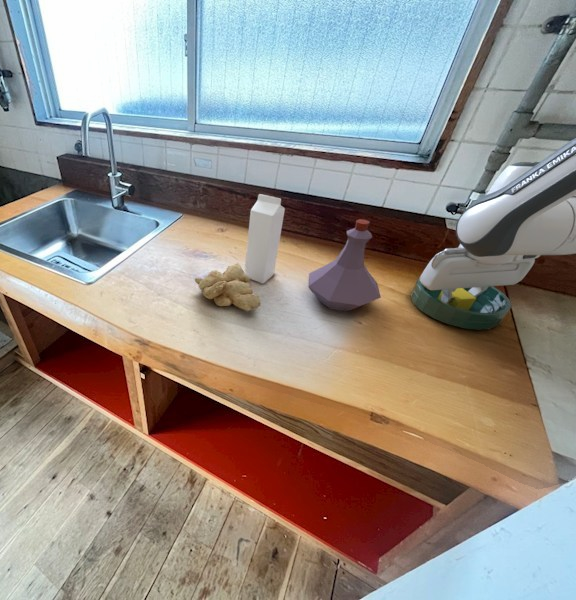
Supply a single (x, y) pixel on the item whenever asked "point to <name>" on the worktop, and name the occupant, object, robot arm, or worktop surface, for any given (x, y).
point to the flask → (346, 274)
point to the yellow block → (460, 299)
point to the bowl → (479, 316)
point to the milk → (263, 238)
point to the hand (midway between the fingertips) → (456, 300)
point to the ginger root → (229, 288)
